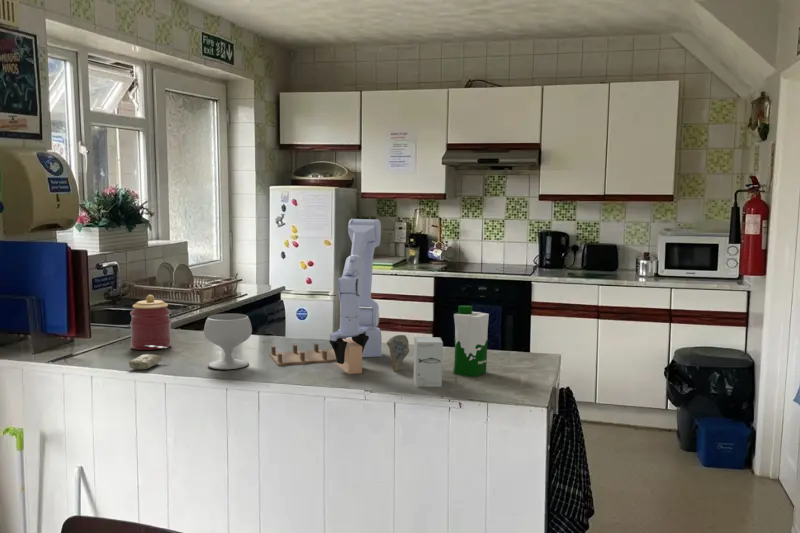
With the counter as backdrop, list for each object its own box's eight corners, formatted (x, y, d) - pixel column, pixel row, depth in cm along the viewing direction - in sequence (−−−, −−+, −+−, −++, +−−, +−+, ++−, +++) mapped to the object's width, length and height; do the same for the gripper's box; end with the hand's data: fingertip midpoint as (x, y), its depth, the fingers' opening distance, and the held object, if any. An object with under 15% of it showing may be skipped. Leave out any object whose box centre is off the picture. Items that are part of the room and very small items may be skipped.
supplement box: (415, 387, 187) (416, 341, 186) (413, 380, 195) (414, 336, 193) (442, 387, 188) (443, 341, 186) (439, 380, 195) (440, 336, 194)
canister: (179, 345, 235) (178, 294, 234) (147, 352, 224) (146, 298, 223) (154, 341, 242) (153, 291, 241) (122, 347, 231) (121, 295, 230)
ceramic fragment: (394, 373, 202) (394, 340, 201) (384, 372, 203) (385, 338, 202) (411, 366, 211) (411, 334, 210) (402, 365, 213) (402, 333, 212)
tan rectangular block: (349, 364, 213) (349, 338, 212) (361, 373, 202) (362, 346, 201) (336, 365, 211) (337, 339, 210) (348, 374, 200) (349, 347, 199)
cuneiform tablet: (168, 347, 213) (149, 356, 201) (167, 361, 213) (148, 371, 201) (146, 344, 214) (126, 353, 202) (146, 359, 214) (126, 368, 202)
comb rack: (338, 350, 231) (338, 341, 231) (350, 360, 217) (351, 350, 217) (269, 355, 223) (269, 345, 223) (277, 366, 209) (277, 355, 209)
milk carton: (463, 369, 208) (464, 303, 206) (490, 373, 204) (492, 306, 202) (449, 375, 201) (451, 307, 199) (477, 379, 196) (479, 310, 194)
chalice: (213, 359, 216) (212, 312, 214) (257, 361, 215) (257, 313, 214) (197, 370, 202) (196, 319, 200) (244, 372, 201) (244, 321, 200)
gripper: (356, 311, 213) (356, 355, 214) (322, 317, 202) (322, 363, 203) (373, 314, 209) (373, 358, 210) (339, 320, 197) (339, 367, 199)
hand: (349, 361), depth 206 cm, fingers open, 7 cm apart
